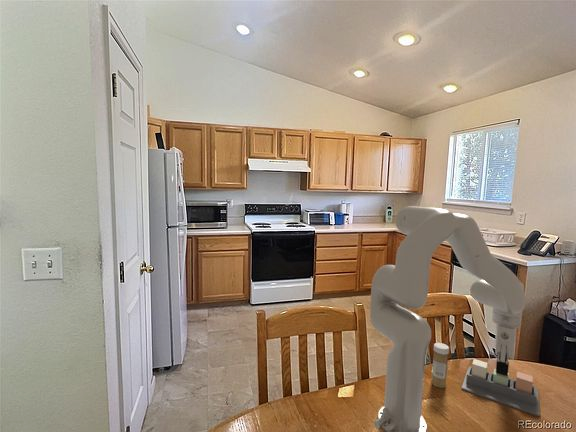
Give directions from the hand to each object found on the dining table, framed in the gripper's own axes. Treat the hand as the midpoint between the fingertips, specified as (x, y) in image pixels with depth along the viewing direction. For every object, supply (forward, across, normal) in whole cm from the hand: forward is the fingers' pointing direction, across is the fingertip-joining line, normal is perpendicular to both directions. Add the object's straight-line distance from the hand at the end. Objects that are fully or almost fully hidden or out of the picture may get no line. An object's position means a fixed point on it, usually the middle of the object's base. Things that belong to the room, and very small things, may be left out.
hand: (501, 373), depth 103 cm
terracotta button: (+3, 0, -6) cm, 7 cm away
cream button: (+3, 0, +6) cm, 7 cm away
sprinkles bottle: (+6, -9, +17) cm, 20 cm away
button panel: (+6, 0, 0) cm, 6 cm away
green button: (+5, 0, 0) cm, 5 cm away
